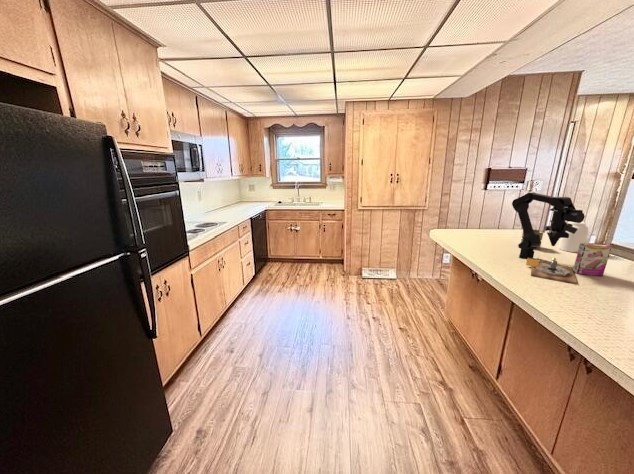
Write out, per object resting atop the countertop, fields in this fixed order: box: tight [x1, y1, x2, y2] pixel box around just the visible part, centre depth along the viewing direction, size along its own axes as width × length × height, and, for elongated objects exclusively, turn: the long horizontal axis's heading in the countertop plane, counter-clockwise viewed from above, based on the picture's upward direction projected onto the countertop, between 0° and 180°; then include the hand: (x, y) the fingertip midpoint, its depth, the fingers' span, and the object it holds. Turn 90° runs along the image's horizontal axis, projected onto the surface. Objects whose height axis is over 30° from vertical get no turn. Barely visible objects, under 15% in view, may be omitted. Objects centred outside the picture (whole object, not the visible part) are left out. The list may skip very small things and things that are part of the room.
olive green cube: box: [520, 229, 544, 250], centre depth 191 cm, size 11×12×11 cm
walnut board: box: [530, 262, 578, 285], centre depth 147 cm, size 18×24×1 cm
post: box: [550, 259, 558, 271], centre depth 146 cm, size 2×2×7 cm
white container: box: [558, 221, 589, 253], centre depth 182 cm, size 12×12×20 cm
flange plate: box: [525, 257, 570, 276], centre depth 148 cm, size 18×13×4 cm
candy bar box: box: [572, 243, 612, 277], centre depth 143 cm, size 11×5×16 cm, turn 71°
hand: (553, 245), depth 154 cm, fingers closed
